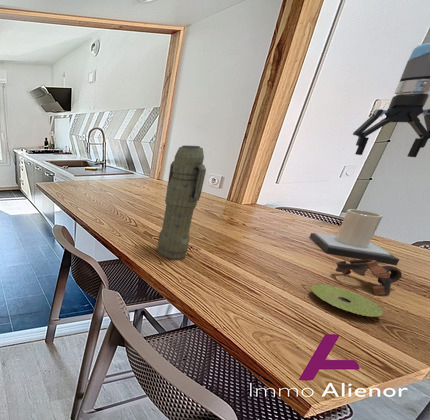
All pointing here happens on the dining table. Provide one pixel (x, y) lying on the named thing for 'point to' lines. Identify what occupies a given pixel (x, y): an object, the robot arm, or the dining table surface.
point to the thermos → (181, 201)
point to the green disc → (347, 300)
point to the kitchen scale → (352, 249)
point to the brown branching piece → (376, 270)
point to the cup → (358, 228)
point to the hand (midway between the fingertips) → (384, 155)
